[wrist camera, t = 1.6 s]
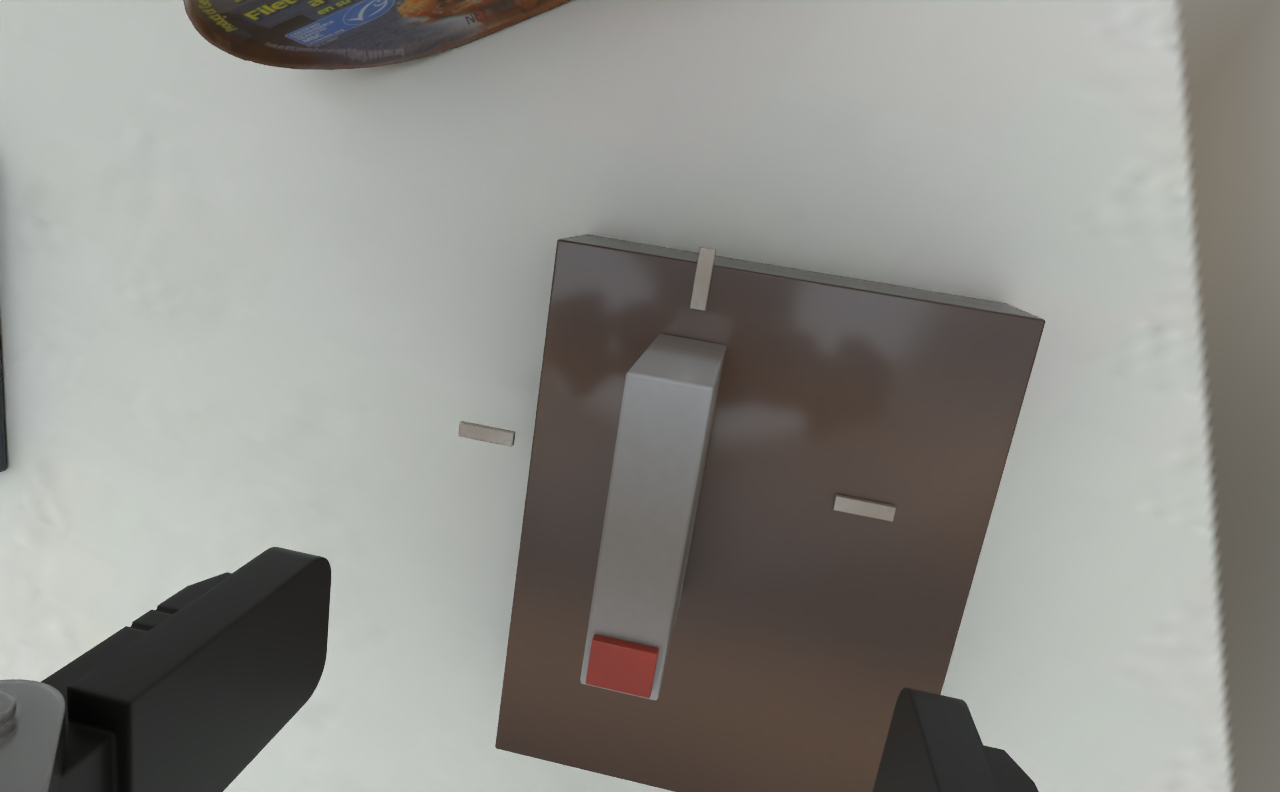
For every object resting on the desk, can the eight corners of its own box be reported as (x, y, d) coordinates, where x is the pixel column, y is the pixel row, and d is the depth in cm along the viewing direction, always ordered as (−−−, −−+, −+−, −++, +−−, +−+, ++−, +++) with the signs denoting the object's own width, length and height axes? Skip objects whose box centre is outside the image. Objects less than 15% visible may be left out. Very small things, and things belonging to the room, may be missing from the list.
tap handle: (659, 333, 19) (623, 373, 14) (726, 344, 19) (712, 390, 14) (619, 582, 20) (576, 691, 16) (681, 596, 20) (655, 709, 16)
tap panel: (520, 210, 22) (480, 211, 19) (1011, 289, 20) (1053, 304, 17) (469, 673, 25) (428, 737, 22) (882, 768, 24) (899, 851, 21)
